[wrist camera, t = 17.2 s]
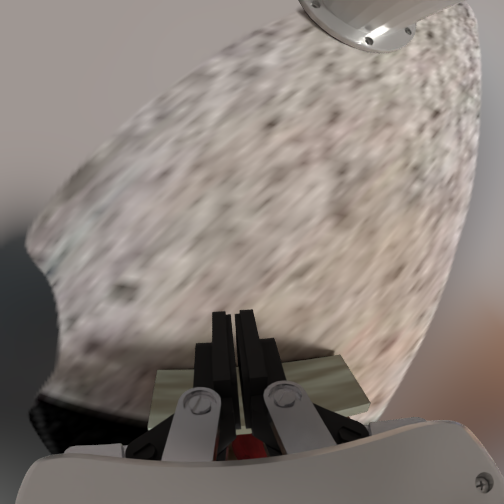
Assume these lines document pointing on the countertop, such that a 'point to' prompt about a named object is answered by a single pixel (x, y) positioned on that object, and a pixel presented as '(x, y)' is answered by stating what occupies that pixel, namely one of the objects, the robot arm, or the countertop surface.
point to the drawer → (301, 372)
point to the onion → (248, 447)
